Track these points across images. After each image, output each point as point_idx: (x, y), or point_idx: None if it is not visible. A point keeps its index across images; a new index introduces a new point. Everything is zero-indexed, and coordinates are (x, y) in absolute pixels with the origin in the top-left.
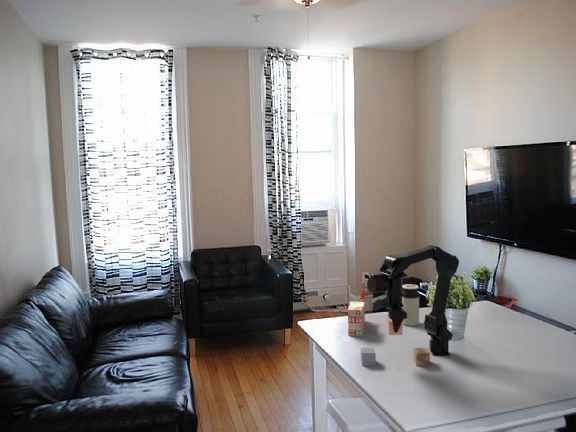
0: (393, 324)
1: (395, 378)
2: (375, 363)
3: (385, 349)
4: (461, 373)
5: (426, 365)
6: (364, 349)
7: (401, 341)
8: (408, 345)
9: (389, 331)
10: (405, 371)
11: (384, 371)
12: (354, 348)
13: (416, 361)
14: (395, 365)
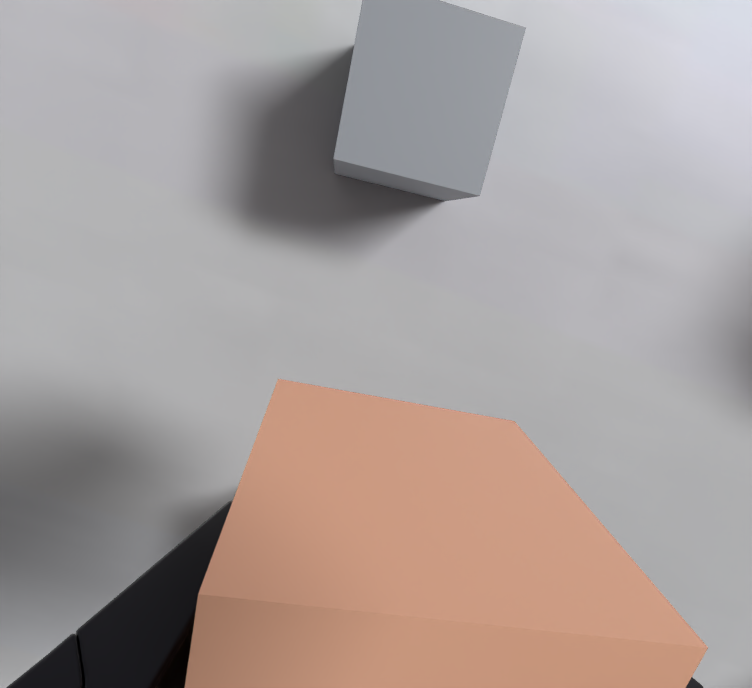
0: (57, 658)
1: (61, 249)
2: (334, 170)
3: (614, 365)
4: None
5: None
6: (467, 58)
7: (698, 516)
8: (617, 535)
9: (267, 423)
10: (188, 370)
11: (206, 208)
12: (739, 111)
13: None
14: (308, 336)
